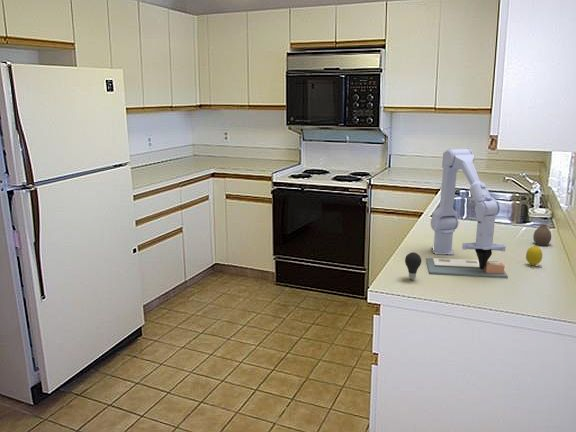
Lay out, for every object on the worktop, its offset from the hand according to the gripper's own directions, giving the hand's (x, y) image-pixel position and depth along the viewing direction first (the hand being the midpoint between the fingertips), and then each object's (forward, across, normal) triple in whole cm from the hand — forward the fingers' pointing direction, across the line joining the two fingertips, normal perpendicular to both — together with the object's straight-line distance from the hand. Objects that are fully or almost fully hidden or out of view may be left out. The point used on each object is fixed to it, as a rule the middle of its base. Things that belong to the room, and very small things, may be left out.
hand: (481, 268), depth 184 cm
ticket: (+2, -7, +7) cm, 10 cm away
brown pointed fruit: (+2, +32, +40) cm, 51 cm away
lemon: (+2, +21, +11) cm, 24 cm away
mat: (+2, -5, +4) cm, 7 cm away
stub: (+2, +4, 0) cm, 5 cm away
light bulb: (+2, -25, -11) cm, 27 cm away
